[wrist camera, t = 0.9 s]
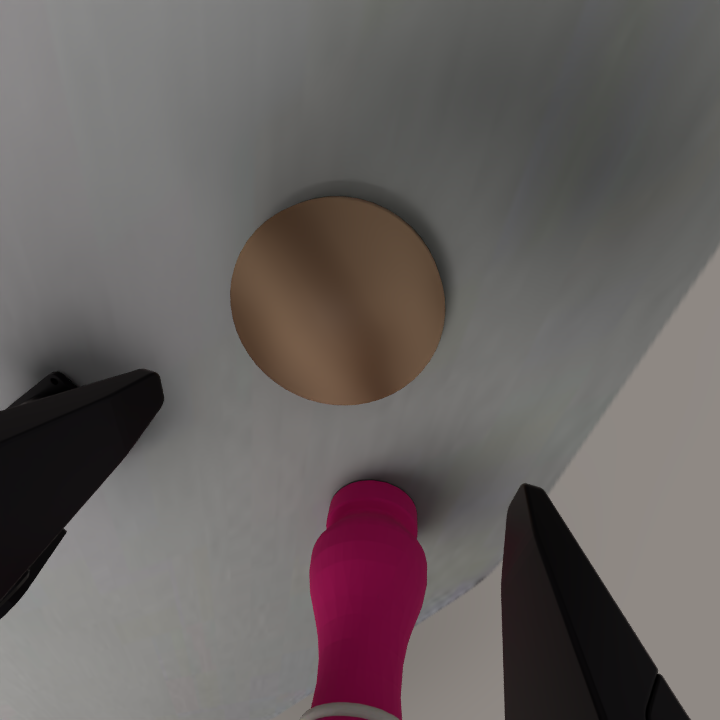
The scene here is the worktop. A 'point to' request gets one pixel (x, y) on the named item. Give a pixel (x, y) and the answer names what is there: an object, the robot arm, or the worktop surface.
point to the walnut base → (338, 300)
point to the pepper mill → (365, 601)
